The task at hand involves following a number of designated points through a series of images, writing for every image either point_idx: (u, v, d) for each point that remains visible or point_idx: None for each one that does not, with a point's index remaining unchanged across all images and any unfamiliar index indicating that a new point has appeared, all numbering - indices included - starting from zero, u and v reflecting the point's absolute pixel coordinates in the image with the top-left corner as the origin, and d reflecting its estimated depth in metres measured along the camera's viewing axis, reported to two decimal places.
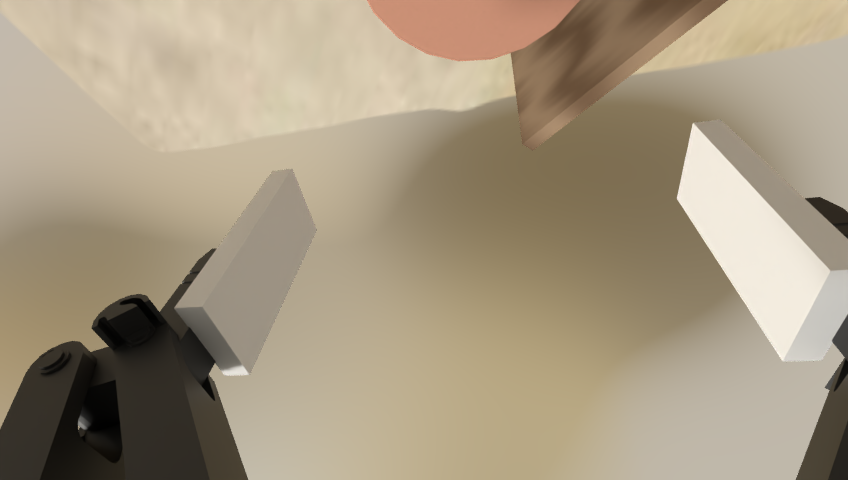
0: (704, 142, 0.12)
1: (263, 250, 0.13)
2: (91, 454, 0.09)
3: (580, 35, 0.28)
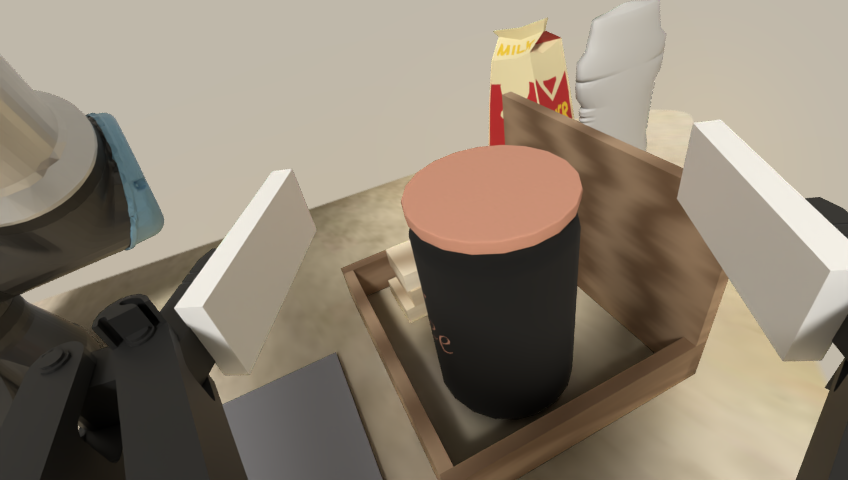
0: (704, 142, 0.12)
1: (263, 250, 0.13)
2: (92, 454, 0.09)
3: (645, 228, 0.31)
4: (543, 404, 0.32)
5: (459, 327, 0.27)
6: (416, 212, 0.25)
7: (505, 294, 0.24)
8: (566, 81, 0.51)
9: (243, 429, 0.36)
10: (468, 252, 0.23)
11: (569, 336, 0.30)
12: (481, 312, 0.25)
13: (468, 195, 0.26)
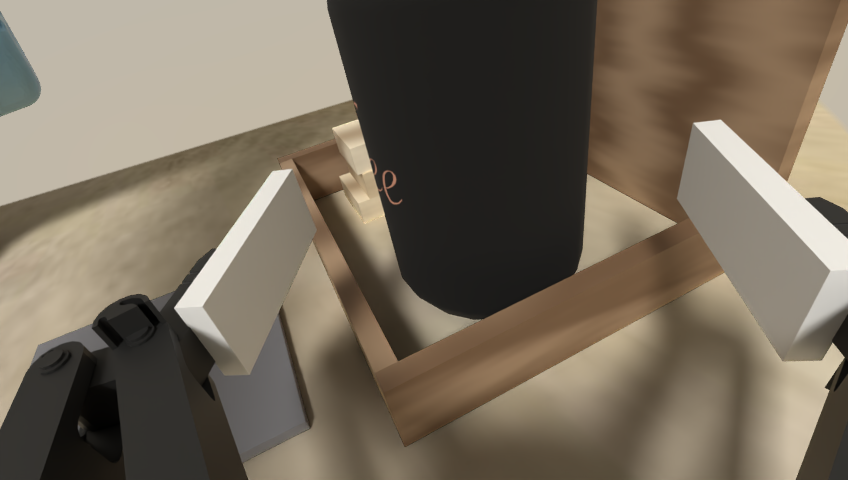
0: (704, 142, 0.12)
1: (263, 250, 0.13)
2: (91, 454, 0.09)
3: (690, 23, 0.21)
4: None
5: (405, 135, 0.17)
6: None
7: (472, 36, 0.14)
8: None
9: None
10: None
11: (580, 173, 0.20)
12: (435, 85, 0.15)
13: None
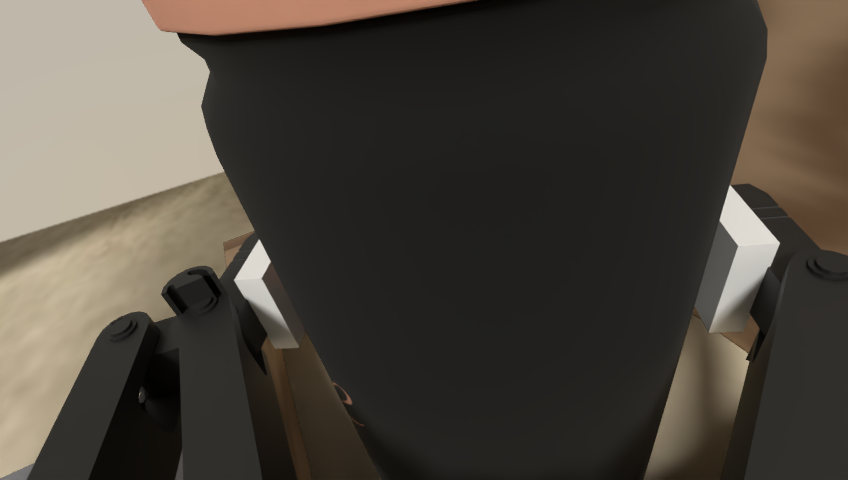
0: None
1: None
2: (149, 423, 0.09)
3: (841, 112, 0.13)
4: None
5: (358, 367, 0.09)
6: None
7: (496, 247, 0.06)
8: None
9: None
10: (301, 10, 0.04)
11: (671, 380, 0.11)
12: (412, 320, 0.07)
13: None
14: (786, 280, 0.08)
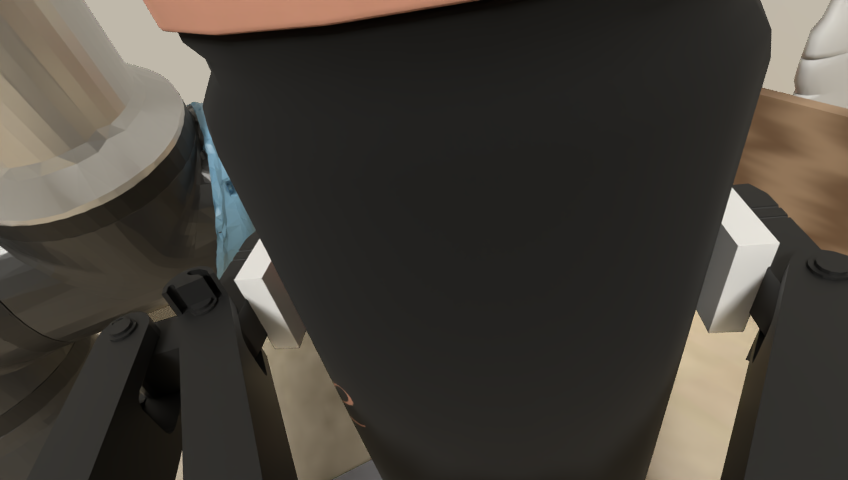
0: None
1: None
2: (149, 424, 0.09)
3: None
4: None
5: (360, 369, 0.09)
6: None
7: (500, 248, 0.06)
8: None
9: None
10: (304, 9, 0.04)
11: (673, 381, 0.11)
12: (414, 320, 0.07)
13: None
14: (786, 280, 0.08)
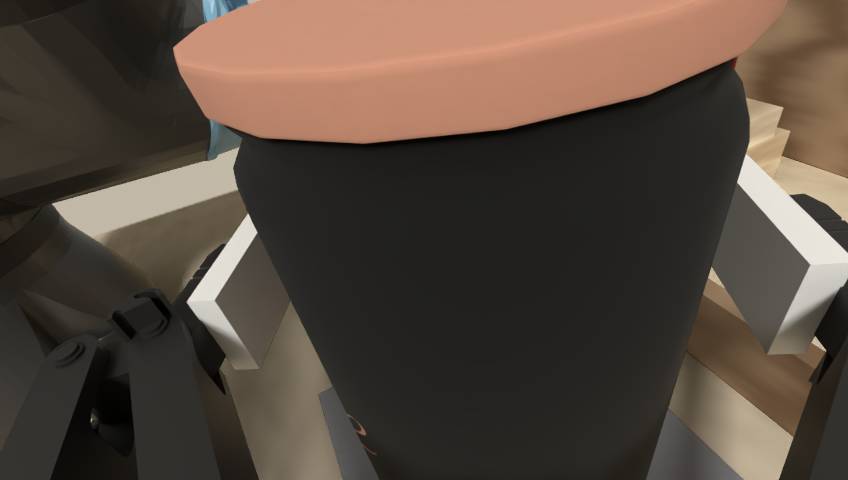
0: None
1: None
2: (103, 447, 0.09)
3: None
4: None
5: (376, 408, 0.09)
6: (209, 37, 0.07)
7: (509, 317, 0.06)
8: None
9: None
10: (347, 132, 0.05)
11: (665, 412, 0.12)
12: (430, 372, 0.08)
13: None
14: None
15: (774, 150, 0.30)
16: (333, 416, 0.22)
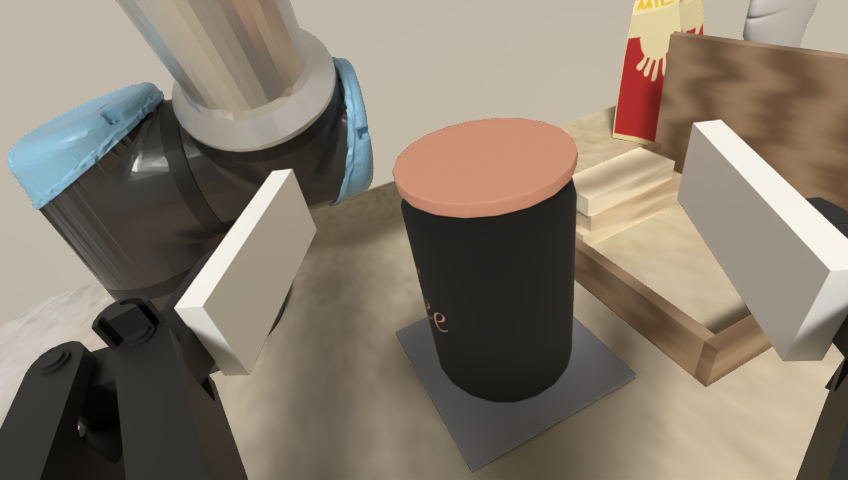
0: (704, 142, 0.12)
1: (263, 250, 0.13)
2: (91, 454, 0.09)
3: None
4: (542, 386, 0.31)
5: (454, 301, 0.26)
6: (407, 179, 0.25)
7: (499, 261, 0.23)
8: (702, 33, 0.54)
9: None
10: (460, 215, 0.22)
11: (568, 312, 0.29)
12: (475, 282, 0.25)
13: (460, 162, 0.25)
14: None
15: (673, 186, 0.47)
16: (406, 342, 0.39)
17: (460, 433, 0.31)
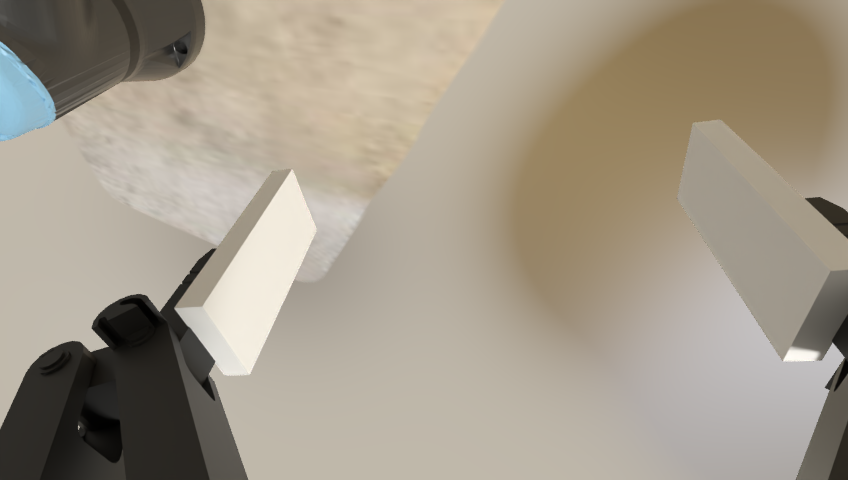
0: (704, 142, 0.12)
1: (263, 250, 0.13)
2: (91, 454, 0.09)
3: None
4: None
5: None
6: None
7: None
8: None
9: None
10: None
11: None
12: None
13: None
14: None
15: None
16: None
17: None
